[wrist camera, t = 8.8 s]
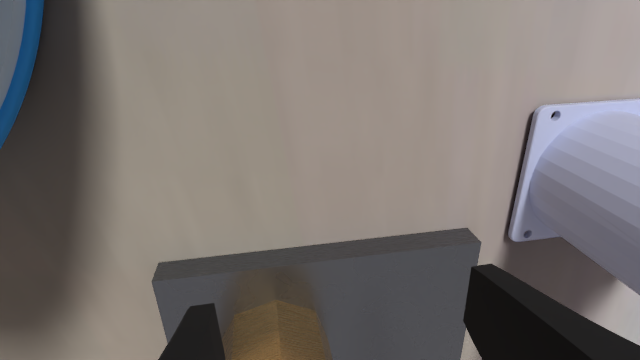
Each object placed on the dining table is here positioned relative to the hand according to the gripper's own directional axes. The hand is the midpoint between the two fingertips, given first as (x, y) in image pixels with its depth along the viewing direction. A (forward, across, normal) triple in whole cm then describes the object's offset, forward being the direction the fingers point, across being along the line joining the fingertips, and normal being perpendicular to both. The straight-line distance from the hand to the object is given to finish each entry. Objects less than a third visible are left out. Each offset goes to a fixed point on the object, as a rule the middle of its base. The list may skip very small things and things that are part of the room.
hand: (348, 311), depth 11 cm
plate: (+9, 0, +13) cm, 16 cm away
